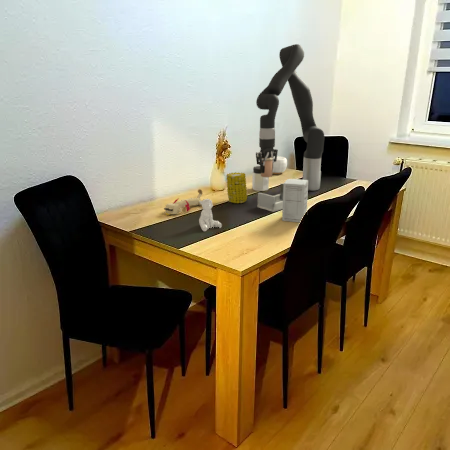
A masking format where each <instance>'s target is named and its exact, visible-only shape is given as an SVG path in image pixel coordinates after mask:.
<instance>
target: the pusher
mask: <svg viewBox="0 0 450 450" xmlns="http://www.w3.org/2000/svg"><path fill="white" fill-rule="evenodd" d="M283 184H284V183H280V189H279V190H280V191H279V194H280V200H282V201H283Z"/></svg>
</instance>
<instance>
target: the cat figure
mask: <svg viewBox="0 0 450 450" xmlns="http://www.w3.org/2000/svg"><path fill="white" fill-rule="evenodd" d="M197 192H198V195H197V197H194V198H193V197H190V198H186V199H181V200H179V199H180V198H179V197H178V198H177V199H175V200H174V201H173V202H169V203H166V205H165V207H164V208H163V209H164V210H165V211H164V213H165V215H166V216H170V215H179V214H180V213H182V211H183V209H184V208H186V209H185V210H186V213H188V212H189V211H190V210H191V207H190V206H193V207H194V206H202V204H200V203H199V201H203V200H204V198H203V199H202V200H201V197H202V195H203V191H202V189H198V190H197Z"/></svg>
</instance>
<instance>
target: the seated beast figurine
mask: <svg viewBox="0 0 450 450" xmlns="http://www.w3.org/2000/svg"><path fill="white" fill-rule="evenodd" d="M203 199H204V198H203ZM203 199H202V200H203ZM202 200H201V201H199V203H200V204H202V205H201V207H202V211H200V212H201V213H200V216H199V219H198V222H199V223H198V224H199V226H200V229H201V230H202V231H203V232H207V230H209V228H210V229H214V227H215V228H218V227H219V229H221V228H222V226H223V224H222V223H221V222H220V221H219V220H214V219H213V212H212V208H213V207H214V205H213V200H212V199H210V198H205V199H204V200H203V201H202ZM212 227H213V228H212Z"/></svg>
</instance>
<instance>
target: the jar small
mask: <svg viewBox="0 0 450 450" xmlns="http://www.w3.org/2000/svg"><path fill="white" fill-rule="evenodd" d="M262 159H265V158H262ZM272 162H273V158H271V157H270V158H267V159H266V161H265V165H264V166H265V173H261V176H262V177H269V178H271V177H273V174H272ZM262 163H263V160H262Z"/></svg>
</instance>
